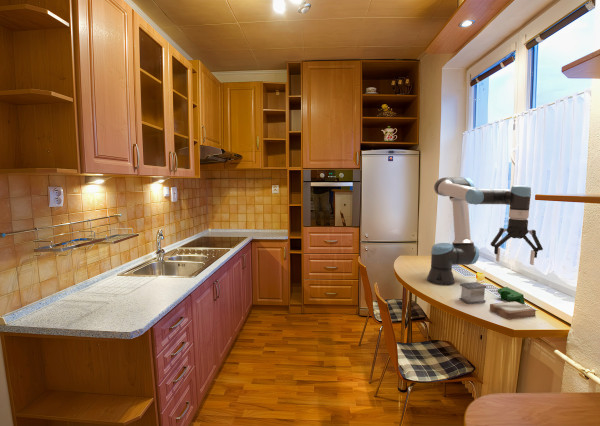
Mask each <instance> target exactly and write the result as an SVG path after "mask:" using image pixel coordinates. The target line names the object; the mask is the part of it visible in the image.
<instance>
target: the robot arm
mask: <svg viewBox="0 0 600 426" xmlns="http://www.w3.org/2000/svg"><path fill="white" fill-rule="evenodd" d="M433 189H434V192H435V193H436V194H437V195H438V196H441V197H449V201H451V202H452V216H453V229H454V231H453V233H454V235H453V236H454V240H453V241H452V243H450V242H439V243H435V244H433V245H432V247H431V257H430V258H431V259H430V269H429V272H428V274H427V276H426V277H427V278H426V281H428V282H429V283H432V284H433V285H437V286H438V285H439V286H453V285H454V284H455V277H454V273H453V266H456V265H457V266H459V265H460V266H463V265H464V266H468V265H469V266H470V265H475V264H476V263H477V262H478V260H479V257H480V251H479V249H478V247H477V246H476V245H475V242H474V241H472V239H471V228H470V227H471V226H470V224H471V223H470V211H469V205H475V206H476V205H509V208H508V209H509V211H508V219H507V220H508V221H507V227H506V228H504V227H499V230H498V233H497V234H496V235H495V236H494V238H493V239H492V241H491V242H490V246H491V247H493V248H494V249H493V250H494V251H493V252H494V255H496V256H495V257H496V258H495V261H496V262H497V263H498V262H500V257H501V255H500V254H501V248H500V247H501V246H502V245H503V244H504V243H506V242H507V241H508V240H509V239H511V238H512V239H519V240H521V239H523V240H524V241H525V242H526V243H527V244H528V245H529V247H530V248H531V250H530V255H529V256H530V258H529V264H530V265H531V266H534V265H535V264H534V263H535V259H536V258H537V257H538V252H539V251H543V250H544V249H543V246H542V244H541V242H540V241H539V238H538V236H537V231H536V229H529V228H528V227H529V220H528V219H529V215H530V206H531V205H530V203H531V197H532V187H531V186H529V185H512V186H511V188H510V189H506V188H496V189H495V188H491V189H490V188H488V189H487V188H478V187H475V184H474V182H473V180H472V179H471V178H469V177H464V176H463V177H449V176H448V177H442V178H439V179H438V180H436V181H435V183H434V185H433ZM505 232H507V234H505V236H504V237H502V235H503V234H504V233H505ZM528 233H529V234H530V235H531V238H532V239H533V241H534V243H535V244H534V243H533V242H532V241H531V240H530V238H529V237H527V235H528ZM501 237H502V238H501ZM500 238H501V239H500ZM499 239H500V240H499ZM535 245H536V246H535Z"/></svg>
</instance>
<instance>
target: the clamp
mask: <svg viewBox="0 0 600 426" xmlns="http://www.w3.org/2000/svg"><path fill="white" fill-rule="evenodd" d="M496 291H497V293H498V294H499V296H500V300H501V301H502V300H507V302H513V301H516V302H518V303H521V304H523V305H525V303H526V302H525V298H524V294H522V293H521V292H519V291H517V290H514V289H513V288H510V287H508V286H505V287H501V288H497V289H496Z"/></svg>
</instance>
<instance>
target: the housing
mask: <svg viewBox="0 0 600 426" xmlns="http://www.w3.org/2000/svg"><path fill="white" fill-rule="evenodd" d="M459 286H460V287H461V291H460V292H461V294H460V297H459V301H461V302H463V303H465V304H466V305H474V304H483V303H486V302H487V301H486V300H485V291H486V289H487V285H486V284H483V283H480V282H478V281H476V282H473V281H472V282H464V283H459Z"/></svg>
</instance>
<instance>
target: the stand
mask: <svg viewBox="0 0 600 426" xmlns="http://www.w3.org/2000/svg"><path fill="white" fill-rule="evenodd" d="M489 310H490V312H493V313H495V314H496V315H499V316H501V317H503V318H505V319H508V320H513V319H521V318H530V317H536V311H537V310H536V309H535V308H532V307H530V306H528V305H525V304H521V303H518V302H516V301H513V302H508V301H505V302H497V303H489Z"/></svg>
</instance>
